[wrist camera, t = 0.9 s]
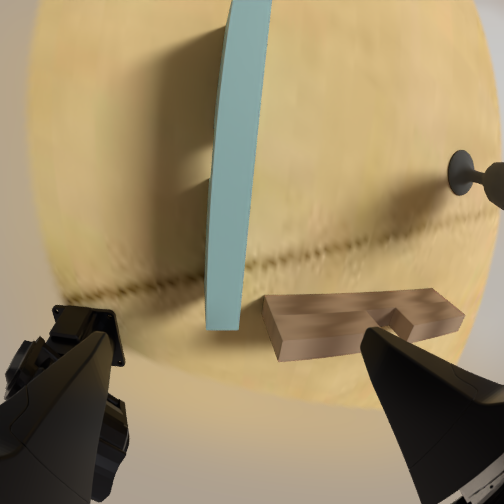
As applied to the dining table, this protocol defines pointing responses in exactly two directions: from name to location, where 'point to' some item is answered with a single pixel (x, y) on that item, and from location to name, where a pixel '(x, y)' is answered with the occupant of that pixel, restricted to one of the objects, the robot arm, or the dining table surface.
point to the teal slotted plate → (234, 159)
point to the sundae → (476, 177)
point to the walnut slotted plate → (353, 320)
